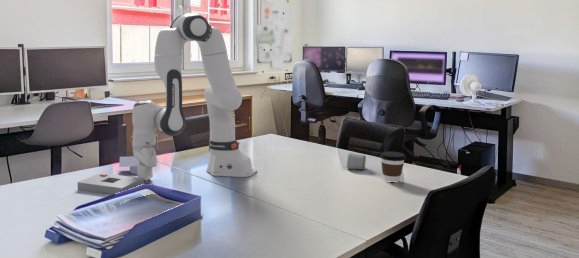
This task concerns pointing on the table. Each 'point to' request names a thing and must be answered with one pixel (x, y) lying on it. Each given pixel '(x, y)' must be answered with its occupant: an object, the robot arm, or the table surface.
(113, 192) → the socket plate
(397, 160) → the coffee cup
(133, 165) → the wedge on round base
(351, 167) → the grey rounded block
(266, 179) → the table surface
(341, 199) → the table surface
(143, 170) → the plug
